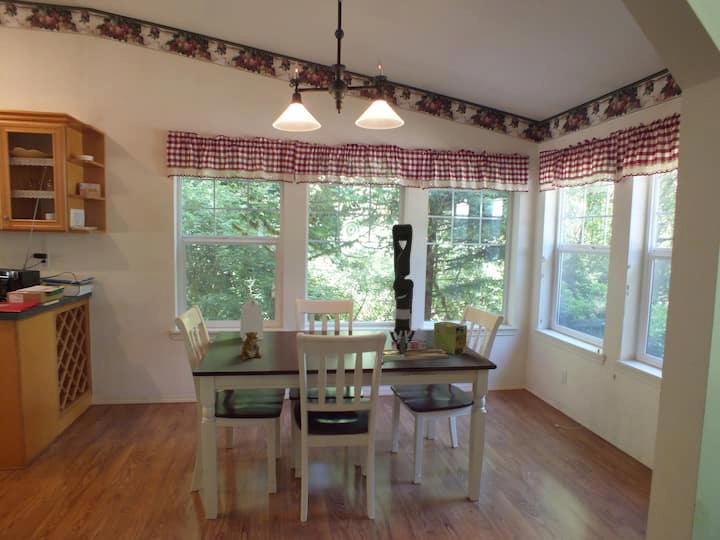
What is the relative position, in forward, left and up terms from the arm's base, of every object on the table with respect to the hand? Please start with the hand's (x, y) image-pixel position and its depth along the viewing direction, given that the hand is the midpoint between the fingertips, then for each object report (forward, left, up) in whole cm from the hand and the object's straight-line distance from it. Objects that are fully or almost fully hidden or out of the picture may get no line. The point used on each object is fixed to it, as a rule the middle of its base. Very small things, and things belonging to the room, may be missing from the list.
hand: (401, 349), depth 232 cm
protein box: (-8, +31, -5) cm, 33 cm away
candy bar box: (-13, +16, -1) cm, 21 cm away
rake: (0, 0, -3) cm, 3 cm away
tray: (0, -7, -5) cm, 8 cm away
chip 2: (0, -4, -4) cm, 5 cm away
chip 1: (0, -8, -4) cm, 9 cm away
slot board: (0, +12, -5) cm, 12 cm away
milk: (-54, -76, -5) cm, 94 cm away
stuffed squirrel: (-17, -77, -5) cm, 79 cm away
